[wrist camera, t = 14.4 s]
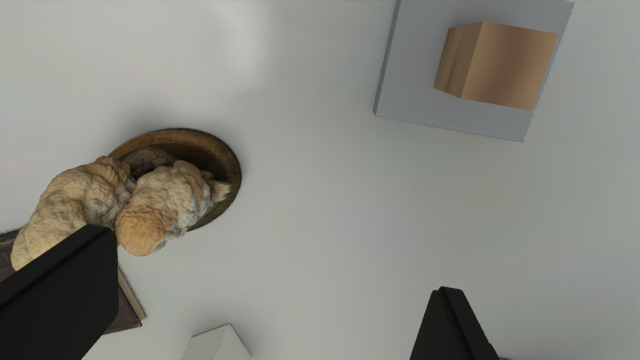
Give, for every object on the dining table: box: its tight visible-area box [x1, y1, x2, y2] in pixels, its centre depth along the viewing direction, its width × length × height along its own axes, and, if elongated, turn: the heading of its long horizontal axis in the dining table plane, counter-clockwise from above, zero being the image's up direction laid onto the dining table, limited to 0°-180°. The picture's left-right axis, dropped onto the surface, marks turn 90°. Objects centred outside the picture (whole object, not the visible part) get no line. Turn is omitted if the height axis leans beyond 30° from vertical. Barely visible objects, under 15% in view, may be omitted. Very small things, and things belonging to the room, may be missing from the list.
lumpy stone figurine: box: [11, 128, 241, 271], centre depth 33 cm, size 18×12×17 cm, turn 111°
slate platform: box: [373, 0, 574, 143], centre depth 33 cm, size 14×12×3 cm
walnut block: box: [433, 21, 559, 111], centre depth 28 cm, size 5×5×8 cm
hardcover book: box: [0, 229, 145, 335], centre depth 46 cm, size 16×23×2 cm
